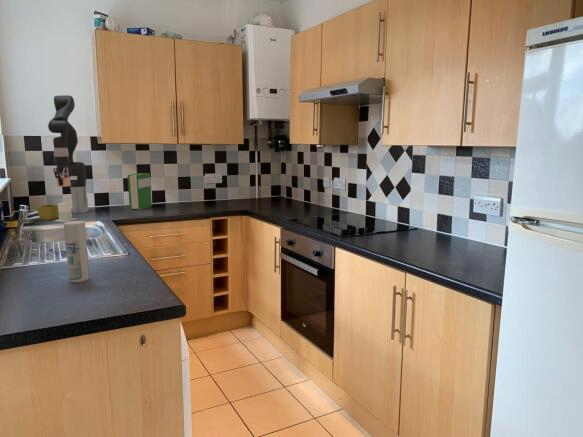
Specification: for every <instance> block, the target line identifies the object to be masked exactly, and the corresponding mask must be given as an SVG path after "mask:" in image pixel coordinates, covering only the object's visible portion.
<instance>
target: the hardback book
mask: <svg viewBox="0 0 583 437" xmlns="http://www.w3.org/2000/svg"><path fill="white" fill-rule="evenodd" d="M127 185H128V186H127V189H128V201H129V203H128V204H129V205H128V206H129V211H132V210H138V211H141V210H145V209H149V208H151V207H152V187H151V186H152V185H151V173H149V172H148V173H147V172H140V173H139V172H138V173H133V174H132V173H131V174H127Z"/></svg>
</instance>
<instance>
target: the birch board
mask: <svg viewBox="0 0 583 437" xmlns="http://www.w3.org/2000/svg"><path fill="white" fill-rule="evenodd" d="M77 219H79V218H78V217H72V219H70V220H59V218H57V219H53V222H70V221H76V220H77Z"/></svg>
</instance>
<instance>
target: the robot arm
mask: <svg viewBox="0 0 583 437" xmlns="http://www.w3.org/2000/svg"><path fill="white" fill-rule="evenodd" d="M53 97H54V98H53V104H54V109H55V114H54V117H52V118H51V119H50V120H49V122H48V125H47V128H48V130H49V132H51V133H53V134H60V136H56V137H54V138H53V139H52V142H53V158H54V165H56V167H53V169H52V170H53V175H54V177H55V179H56V180H57V179H58V182H59V186H62V185H63V179H62V178H63V177H70V178H71V177H76V180H74V181H73V180H72V181H70V182H71V186H69V187H70V196H71V198H70V199H71V210H72V214H83V213H88V212H89V200H88V195H87V170H86V164H85V163H84V162H81V161H74V152H75V150H76V148H77V145H78V143H79V141H78V140H79V138H78V133H77V131H76V129H75V127H74V126H73V125H72V124H71V123H70V122H69V117H70V115H71V114H72V112H73V111H74V109H75V106H76V105H75V100H74V97H73V96H72V95H70V94H69V95H67V94H65V95H63V94H62V95H55V96H53Z"/></svg>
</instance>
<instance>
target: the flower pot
mask: <svg viewBox="0 0 583 437" xmlns="http://www.w3.org/2000/svg"><path fill="white" fill-rule="evenodd" d="M36 210H37V213H38V212H39V214H38V216H39V215H40V217H39V219H41V221H54V220H58V218H59V213H58V204H44V205H39V206H36Z"/></svg>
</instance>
